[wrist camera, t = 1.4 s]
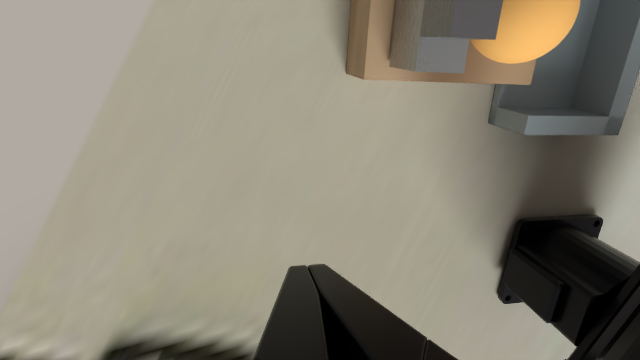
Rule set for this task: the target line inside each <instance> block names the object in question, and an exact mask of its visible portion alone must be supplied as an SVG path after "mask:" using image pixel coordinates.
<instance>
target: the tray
mask: <svg viewBox="0 0 640 360" xmlns="http://www.w3.org/2000/svg"><path fill="white" fill-rule="evenodd" d="M639 70H640V0H580V7H579V12H578V15H577V18H576V20H575V22H574V24H573V26H572V28H571V30H570V31H569V33H568V34H567V35H566V37H565V38H564V39H563V40H562V41H561V42H560V43H559V44H558V45H557V46H556V47H555V48H553V49H552V50H551V51H549V52H548V53H546V54H545V55H543V56H541V57H539V58H537V60H536V64H535V68H534V72H533V77H532V81H531V85H518V84H496V87H495V92H494V97H493V102H492V107H491V112H490V117H489V122H488V123H490V124H493V125H495V126H498V127H501V128H504V129H507V130H510V131H513V132H516V133H519V134H522V135H618V134H619V131H620V128H621V125H622V122H623V119H624V116H625V113H626V110H627V107H628V103H629V100H630V97H631V94H632V91H633V88H634V85H635V82H636V79H637V76H638V73H639Z"/></svg>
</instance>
